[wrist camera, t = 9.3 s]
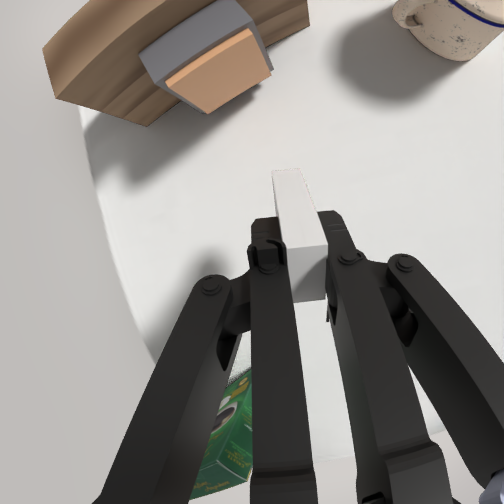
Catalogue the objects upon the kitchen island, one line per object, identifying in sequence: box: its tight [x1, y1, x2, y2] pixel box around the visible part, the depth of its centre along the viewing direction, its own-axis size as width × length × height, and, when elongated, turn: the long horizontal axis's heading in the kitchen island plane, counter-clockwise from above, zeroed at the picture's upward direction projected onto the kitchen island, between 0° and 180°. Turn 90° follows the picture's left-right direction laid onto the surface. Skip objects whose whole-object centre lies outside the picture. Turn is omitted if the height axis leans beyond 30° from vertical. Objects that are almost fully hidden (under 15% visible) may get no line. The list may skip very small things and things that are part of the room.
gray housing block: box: [138, 0, 274, 114], centre depth 18 cm, size 9×7×8 cm
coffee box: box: [189, 369, 253, 500], centre depth 22 cm, size 8×3×13 cm, turn 137°
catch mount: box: [43, 0, 310, 127], centre depth 18 cm, size 6×18×12 cm, turn 120°
